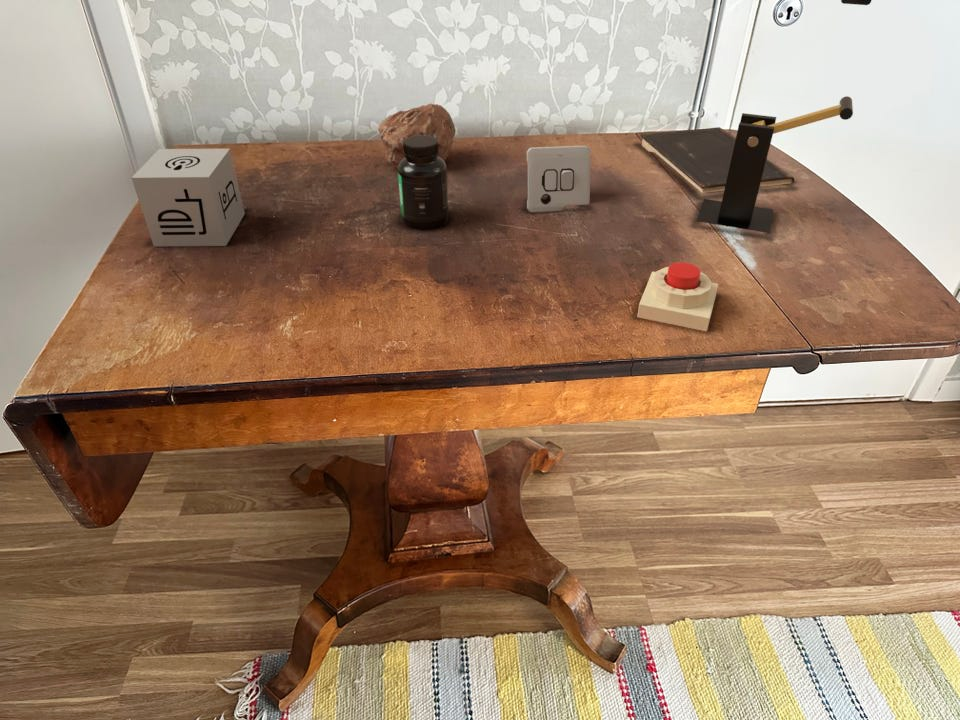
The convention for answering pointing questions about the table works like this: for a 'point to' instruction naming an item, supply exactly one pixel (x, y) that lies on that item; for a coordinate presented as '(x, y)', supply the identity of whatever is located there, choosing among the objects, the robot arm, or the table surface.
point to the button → (683, 276)
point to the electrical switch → (558, 177)
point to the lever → (815, 116)
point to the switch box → (678, 302)
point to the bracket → (744, 179)
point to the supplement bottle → (423, 184)
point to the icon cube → (189, 197)
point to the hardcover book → (705, 157)
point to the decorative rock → (416, 130)
